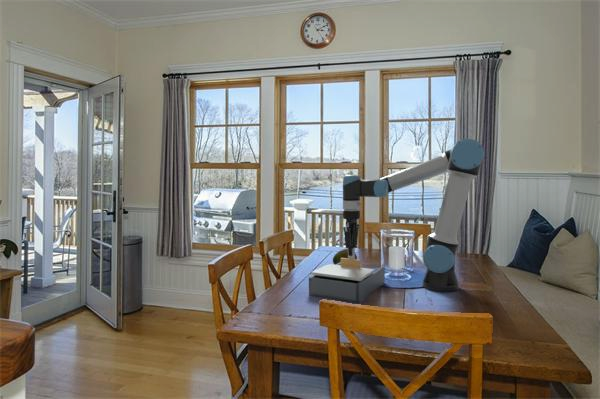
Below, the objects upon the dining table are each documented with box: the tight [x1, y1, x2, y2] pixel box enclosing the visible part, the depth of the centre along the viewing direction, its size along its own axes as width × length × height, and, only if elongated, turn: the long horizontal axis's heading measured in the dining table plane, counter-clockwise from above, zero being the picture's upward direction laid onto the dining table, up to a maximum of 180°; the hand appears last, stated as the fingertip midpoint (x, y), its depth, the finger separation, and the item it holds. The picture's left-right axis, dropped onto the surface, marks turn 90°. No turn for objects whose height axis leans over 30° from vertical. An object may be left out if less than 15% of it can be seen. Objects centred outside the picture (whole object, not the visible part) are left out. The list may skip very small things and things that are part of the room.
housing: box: [308, 262, 386, 304], centre depth 173 cm, size 22×33×8 cm, turn 150°
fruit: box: [332, 248, 358, 265], centre depth 211 cm, size 12×13×10 cm
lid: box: [310, 258, 376, 281], centre depth 167 cm, size 22×17×4 cm
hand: (351, 262), depth 175 cm, fingers closed
